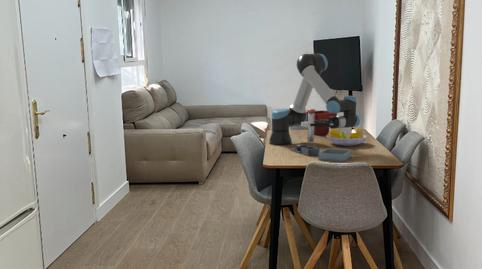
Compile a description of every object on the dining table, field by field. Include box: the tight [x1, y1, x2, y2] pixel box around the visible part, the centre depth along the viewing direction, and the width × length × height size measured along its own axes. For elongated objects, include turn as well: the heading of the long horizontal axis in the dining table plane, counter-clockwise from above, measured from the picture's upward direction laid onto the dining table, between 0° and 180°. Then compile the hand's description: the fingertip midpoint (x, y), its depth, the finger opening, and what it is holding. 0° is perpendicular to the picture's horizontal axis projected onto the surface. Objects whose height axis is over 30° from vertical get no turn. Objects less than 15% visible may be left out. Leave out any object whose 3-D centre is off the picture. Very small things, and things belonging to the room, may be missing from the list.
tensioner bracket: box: [290, 143, 321, 157], centre depth 293 cm, size 20×9×4 cm, turn 23°
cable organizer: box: [329, 127, 353, 133], centre depth 343 cm, size 15×11×12 cm
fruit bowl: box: [325, 128, 368, 147], centre depth 318 cm, size 28×27×11 cm
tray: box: [318, 148, 352, 163], centre depth 275 cm, size 15×15×4 cm
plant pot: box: [306, 110, 338, 136], centre depth 366 cm, size 19×19×17 cm
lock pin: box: [306, 108, 316, 143], centre depth 285 cm, size 5×5×19 cm
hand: (303, 124), depth 283 cm, fingers closed on lock pin, 3 cm apart
